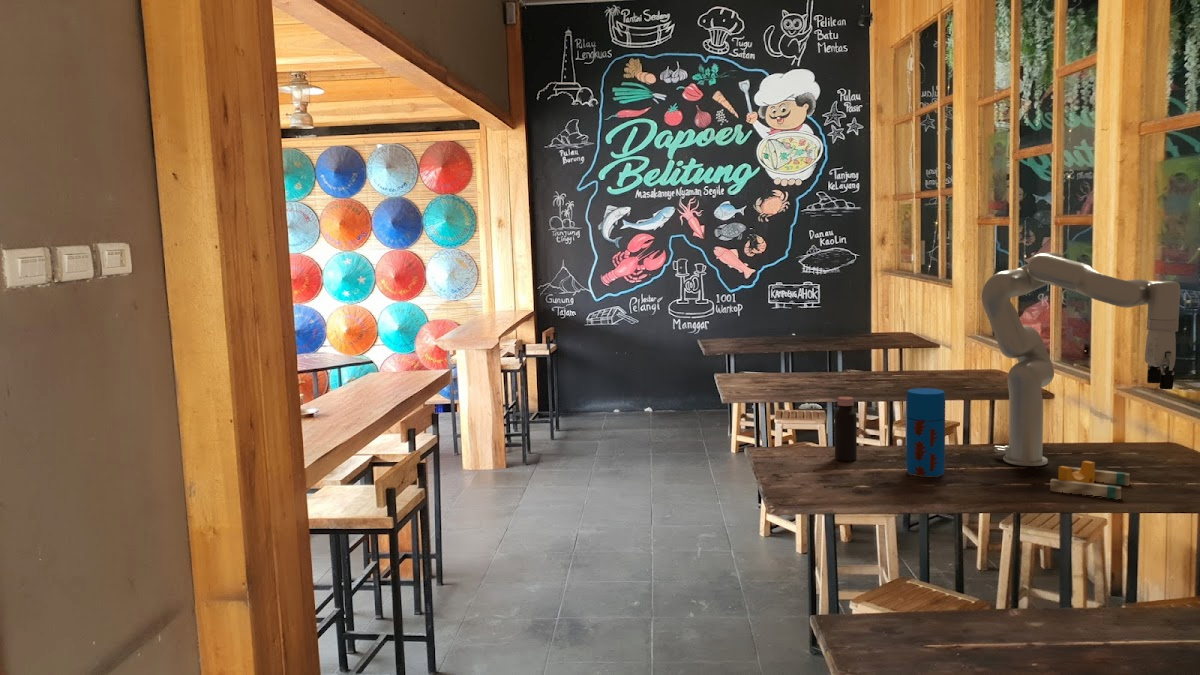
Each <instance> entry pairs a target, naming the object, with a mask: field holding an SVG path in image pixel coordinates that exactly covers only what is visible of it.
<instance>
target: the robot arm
mask: <svg viewBox="0 0 1200 675" xmlns="http://www.w3.org/2000/svg"><path fill="white" fill-rule="evenodd" d="M1047 285H1052V286H1055V287H1058V288H1062V289H1065V290H1068V291H1072V292H1075V293H1078V294H1080V295H1083V296H1085V297H1088V298H1090V299H1093V300H1095V301H1099V302H1102V303H1105V304H1109V305H1112V306H1115V307H1120V308H1124V309H1125V308H1126V309H1127V308H1133V307H1138V306H1143V305H1145V306H1146V305H1147V314H1146V315H1147V319H1146V331H1147V334H1146V342H1145V351H1144V352H1145V353H1144V362H1145V363H1146V364H1147V372H1146V373H1147V375H1146V376H1147V378H1146V382H1147V384H1159V389H1160V390H1173V389H1174V377H1175V376H1174V375H1175V372H1174V371H1175V364H1176V353H1177V351H1176V350H1177V349H1176V348H1177V346H1176V345H1177V340H1176V332H1178V331H1179V323H1180V322H1179V318H1180V302H1181V301H1180V299H1181V298H1180V297H1181V285H1180V283H1179V282H1177V281H1173V280H1154V281H1153V280H1147V279H1141V278H1133V279H1127V280H1125V279H1121V278H1117V277H1114V276H1110V275H1108V274H1107V275H1106V274H1103V273H1101V272H1099V271H1097V270H1095V269H1094V268H1093V267H1092V266H1091V265H1089V264H1088V263H1083V262H1080V261H1076V260H1072V259H1068V258H1065V257H1064V256H1063V255H1062V254H1060V253H1057V252H1041V253H1038V254H1035V255H1034V256H1032V257H1031V258H1030V259H1029V262H1028V263H1027V264H1024V265H1023V266H1020V267H1018V268H1016V269H1006V270H1002V271H998V272H996V273H995V274H993V275H991V277H989V278H988V280H987V281H986V282H985V283H984V286H983V288H982V292H981V302H982V307H983V309H984V311H985V314H986V316H987V318H988V321H989V324H990V327H991V330H992V332H993V335H994V338H995V340H996V342H997V345H998V348H999V350H1000V352H1001V354H1002V355H1003V356H1005V357H1006V358H1009V359H1017V360H1016V361H1017V363H1015V364H1014V365H1013V366H1012V367H1011V368H1010V370H1008V373H1007V380H1006V383H1007V389H1008V397H1009V398H1008V401H1009V403H1008V404H1009V410H1008V411H1009V417H1008V418H1009V420H1008V421H1009V423H1008V424H1009V426H1008V445H1005V446H1002V445H994V452H995V453H997V454H1004V456H1003V457H1002V458H1003V461H1004V462H1005V463H1007V464H1010V465H1015V466H1022V467H1042V466H1045V465H1047V464H1049V461H1048V460H1049V458H1047V457H1045V456H1043V446H1044V445H1043V444H1044V443H1043V442H1044V441H1043V439H1044V437H1043V436H1044V398H1043V394H1042V389H1043V388H1044V387H1045V388H1046V387H1047V386H1048V385H1050V384H1051V383H1052V381H1053V379H1054V376H1055V369H1054V365H1053V363H1052V360H1051V358H1050V355H1049V352H1048V350H1047V348H1046V345H1045V343H1044V340H1043V338H1042V336H1041V335H1040V333H1039V331H1037V330H1036V329H1035V328H1033V327H1032V326H1029V325H1023V323H1022V320H1021V319H1020V315H1019V313H1018V310H1017V309H1016V307H1015V306H1014V305H1013V303H1012V300H1011V299H1012V298H1015V297H1020V296H1021V297H1022V296H1024V295H1027V294H1030V293H1031V292H1034V291H1036V290H1038V289H1040V288H1043V287H1045V286H1047Z"/></svg>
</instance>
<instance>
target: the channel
mask: <svg viewBox="0 0 1200 675" xmlns="http://www.w3.org/2000/svg"><path fill="white" fill-rule="evenodd" d="M1070 467H1071V468H1072V472H1076V471H1080V469H1081V467H1075V466H1070ZM1130 474H1131V473H1129V472H1124V471H1123V472H1122V471H1112V470H1111V471H1110V470H1101V469H1095V477H1094V481H1096V482H1095V483H1094V484H1092V483H1084V482H1075V481H1067V480H1058V479H1057V478H1051V479H1050V490H1049V491H1050V492H1055V493H1062V492H1063V493H1065V494H1070V493H1072V495H1078V494H1082V495H1081V496H1086V495H1093V496H1092V497H1094V496H1102V497H1107V498H1106V499H1110V498H1113V499H1112V500H1118V499H1120V500H1121V499H1122V486H1129V485H1130V478H1131V477H1130ZM1102 482H1104V483H1103V484H1101V483H1102ZM1099 483H1100V484H1099ZM1110 483H1111V484H1110ZM1118 485H1119V486H1118ZM1102 497H1101V498H1102Z"/></svg>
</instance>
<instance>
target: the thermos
mask: <svg viewBox="0 0 1200 675" xmlns="http://www.w3.org/2000/svg"><path fill="white" fill-rule="evenodd" d="M945 393H946V392H945V390H943V389H938V388H930V387H929V388H928V387H926V388H923V387H922V388H920V387H919V388H911V389H908V390H907V392H906V472H907V471H908V472H909V473H911V474H916V475H922V476H938V475H942V474H944V475H945V464H946V463H945V461H946V394H945Z"/></svg>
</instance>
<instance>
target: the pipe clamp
mask: <svg viewBox="0 0 1200 675" xmlns="http://www.w3.org/2000/svg"><path fill="white" fill-rule="evenodd" d="M1071 467H1072V466H1066V465H1060V466H1058V474H1057V475H1058V477H1057V478H1058V480H1067V481H1075V482H1084V483H1092V484H1095V482H1094V477H1095V470H1096V468H1095V467H1096V462H1095V461H1090V460H1084V461H1082V462H1081V467H1080V468H1081V469H1080V471H1076V472H1072V468H1071Z"/></svg>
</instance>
